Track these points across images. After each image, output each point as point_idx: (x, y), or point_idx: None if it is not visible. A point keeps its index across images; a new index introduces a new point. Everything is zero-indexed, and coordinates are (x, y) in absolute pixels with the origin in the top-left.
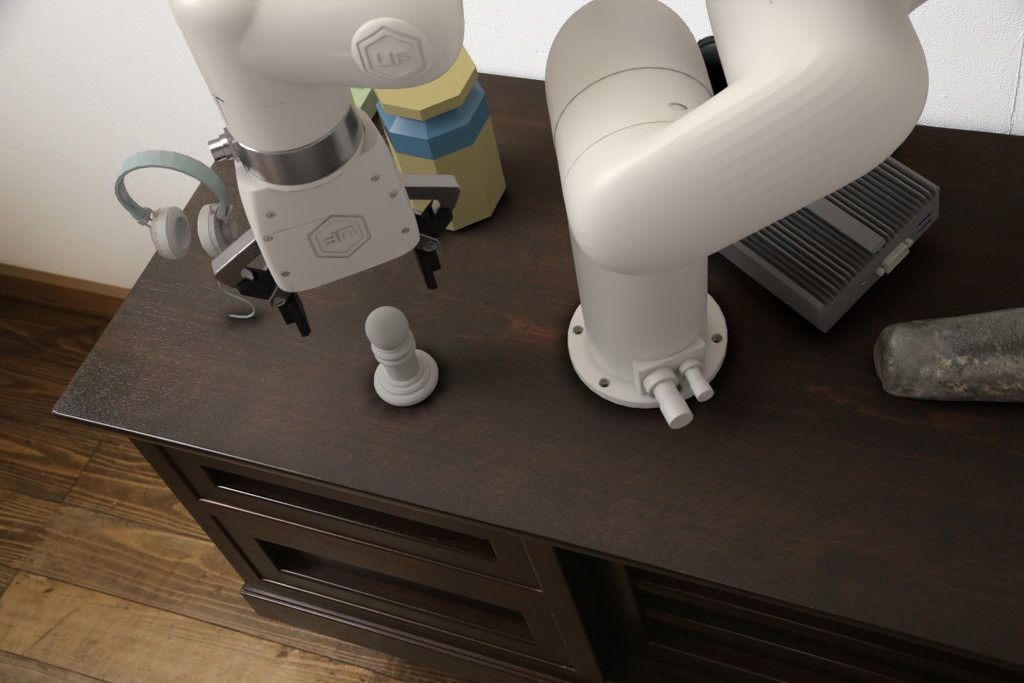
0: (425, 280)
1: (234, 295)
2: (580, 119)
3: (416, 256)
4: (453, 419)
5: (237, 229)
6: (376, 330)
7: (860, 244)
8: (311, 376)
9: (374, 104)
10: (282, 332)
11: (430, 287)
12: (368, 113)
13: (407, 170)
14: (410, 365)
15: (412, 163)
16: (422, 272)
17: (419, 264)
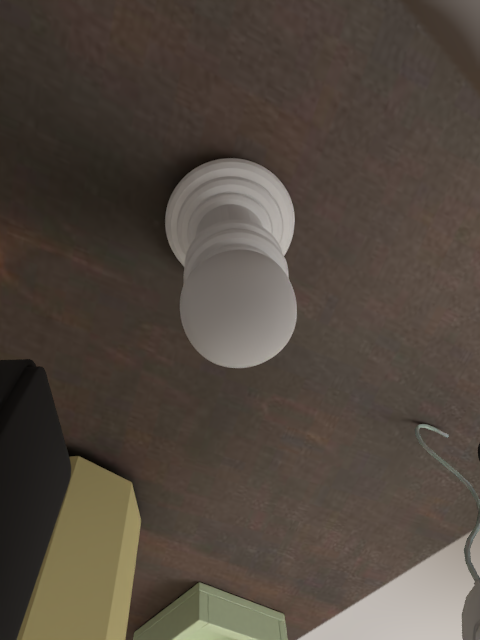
0: (14, 407)
1: (449, 468)
2: None
3: (11, 528)
4: (164, 86)
5: (478, 637)
6: (272, 303)
7: None
8: (383, 297)
9: (152, 629)
10: (389, 386)
11: (24, 370)
12: (162, 622)
13: (98, 608)
14: (213, 222)
15: (78, 630)
16: (11, 447)
17: (11, 487)
